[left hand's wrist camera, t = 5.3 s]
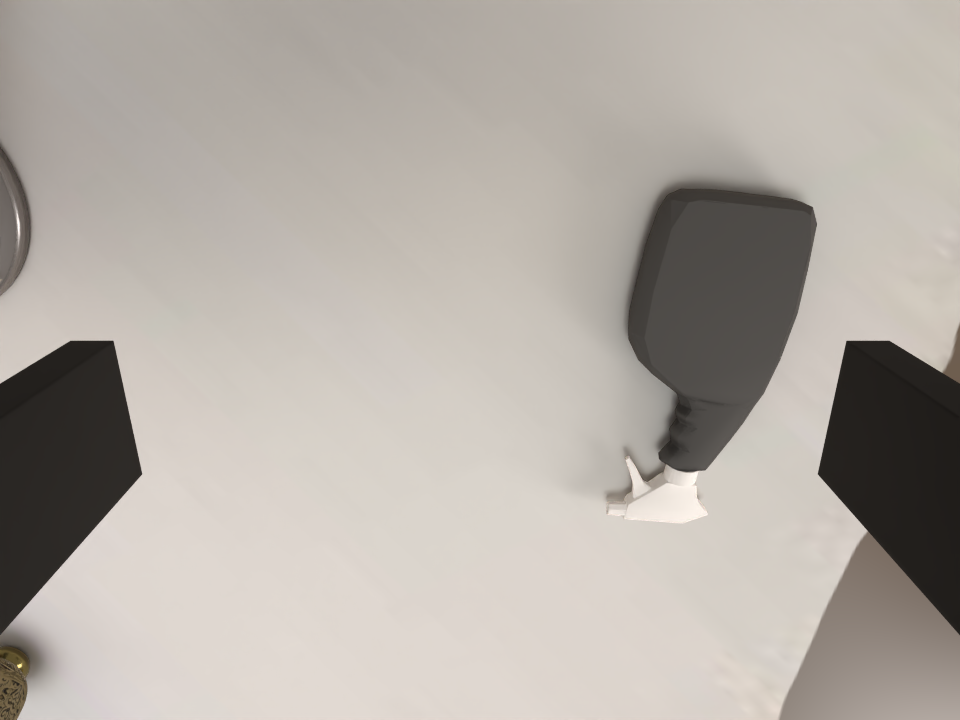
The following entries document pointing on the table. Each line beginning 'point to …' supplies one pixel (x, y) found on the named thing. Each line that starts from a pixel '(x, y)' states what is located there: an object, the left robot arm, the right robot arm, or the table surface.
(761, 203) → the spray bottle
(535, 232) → the table surface
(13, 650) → the cup
